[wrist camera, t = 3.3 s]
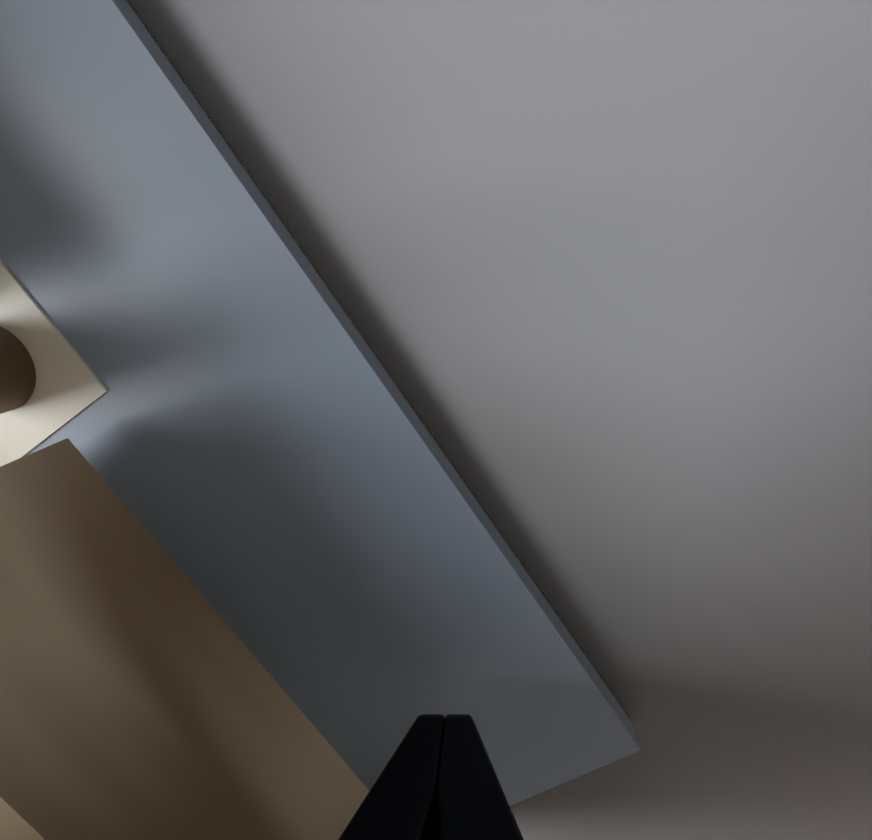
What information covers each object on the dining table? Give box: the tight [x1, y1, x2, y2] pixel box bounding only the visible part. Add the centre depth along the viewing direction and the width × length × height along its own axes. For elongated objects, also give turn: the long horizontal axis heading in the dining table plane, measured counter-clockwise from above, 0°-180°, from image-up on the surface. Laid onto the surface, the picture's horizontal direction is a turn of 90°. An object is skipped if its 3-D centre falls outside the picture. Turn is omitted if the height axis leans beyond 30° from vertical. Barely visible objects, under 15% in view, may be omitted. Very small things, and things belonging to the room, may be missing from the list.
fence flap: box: [0, 438, 369, 840], centre depth 7 cm, size 10×1×5 cm, turn 34°
